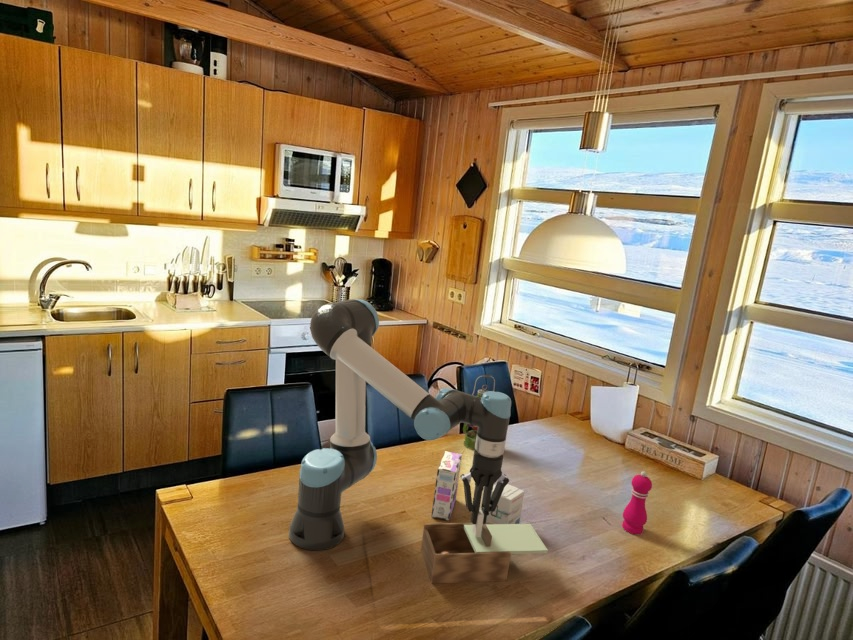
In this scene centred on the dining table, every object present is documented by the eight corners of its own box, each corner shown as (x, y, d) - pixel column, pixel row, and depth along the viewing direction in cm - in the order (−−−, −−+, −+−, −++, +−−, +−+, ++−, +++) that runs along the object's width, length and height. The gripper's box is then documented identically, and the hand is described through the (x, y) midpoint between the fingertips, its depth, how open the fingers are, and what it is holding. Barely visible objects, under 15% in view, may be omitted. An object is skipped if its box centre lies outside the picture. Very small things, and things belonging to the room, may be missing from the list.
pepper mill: (629, 536, 175) (641, 477, 171) (615, 523, 182) (627, 466, 178) (648, 535, 177) (661, 477, 173) (635, 522, 184) (646, 465, 180)
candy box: (449, 521, 171) (456, 472, 168) (430, 517, 172) (437, 468, 169) (456, 499, 185) (462, 453, 181) (438, 496, 186) (444, 449, 182)
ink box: (496, 513, 180) (501, 479, 177) (519, 524, 174) (525, 490, 172) (481, 522, 173) (486, 488, 171) (505, 535, 168) (511, 499, 165)
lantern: (465, 451, 222) (475, 379, 216) (455, 440, 232) (465, 370, 226) (497, 450, 226) (508, 379, 220) (486, 439, 236) (496, 371, 230)
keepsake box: (431, 585, 142) (435, 555, 140) (420, 551, 155) (424, 523, 153) (506, 583, 146) (511, 553, 144) (489, 550, 159) (493, 522, 158)
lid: (476, 555, 143) (478, 541, 143) (463, 527, 155) (465, 514, 154) (547, 553, 148) (549, 539, 147) (529, 526, 159) (531, 514, 159)
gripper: (468, 458, 139) (456, 543, 144) (518, 458, 142) (504, 542, 147) (460, 444, 147) (449, 526, 151) (507, 445, 150) (494, 525, 154)
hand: (476, 533), depth 149 cm, fingers closed
